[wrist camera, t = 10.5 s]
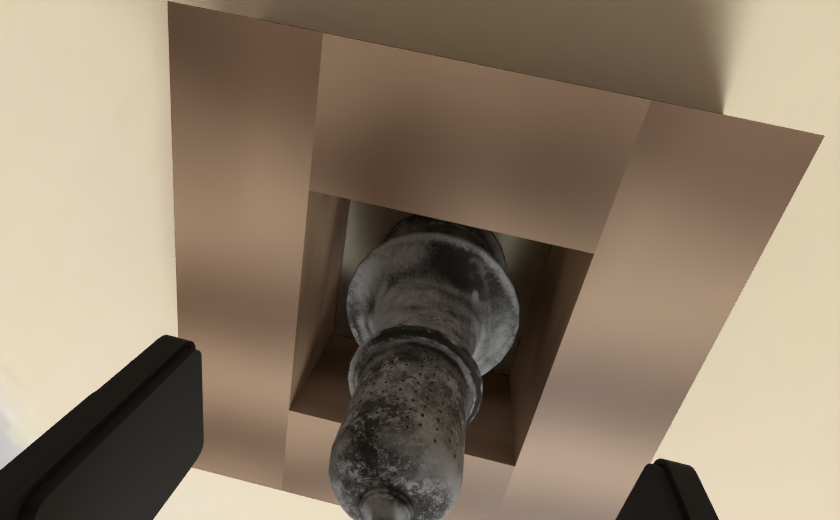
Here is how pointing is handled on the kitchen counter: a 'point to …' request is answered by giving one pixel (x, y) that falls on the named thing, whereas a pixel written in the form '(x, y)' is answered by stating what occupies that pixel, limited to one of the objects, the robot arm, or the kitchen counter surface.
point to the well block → (468, 205)
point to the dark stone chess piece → (419, 366)
